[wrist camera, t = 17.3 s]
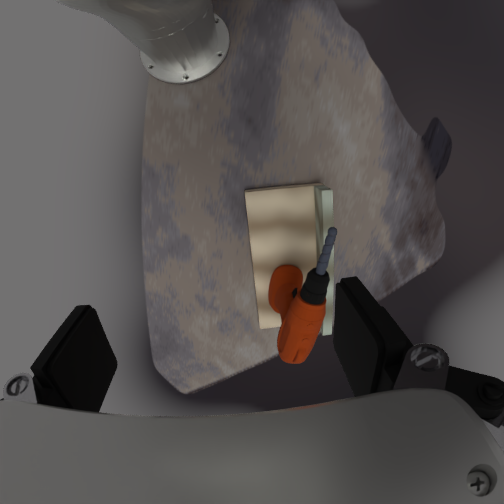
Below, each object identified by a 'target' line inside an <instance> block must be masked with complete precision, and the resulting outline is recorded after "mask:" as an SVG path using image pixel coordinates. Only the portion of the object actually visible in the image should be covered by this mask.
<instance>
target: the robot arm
mask: <svg viewBox="0 0 504 504" xmlns="http://www.w3.org/2000/svg"><path fill="white" fill-rule="evenodd" d="M55 1H57V2H59V3H61V4H63V5H65V6H68V7H70V8H73V9H76V10H80V11H84V12H87V13H91V14H94V15H97V16H100V17H101V18H103V19H104V20H106V21H107V22H108V23H110V24H111V25H112V26H114V27H115V28H116V29H117V30H119V31H120V32H121V33H122V34H123V35H124V36H125V37H126V38H128V39H129V40H130V41H131V42H132V43H133V44H135V45H136V46H137V47H138V48H139V49H140V58H141V61H142V64H143V66H144V67H145V69H146V70H147V71H148V72H149V73H150V74H151V75H152V76H154V77H155V78H157V79H158V80H161V81H163V82H166V83H171V84H186V83H192V82H195V81H198V80H201V79H203V78H205V77H207V76H208V75H210V74H211V73H212V72H214V71H215V70H216V69H217V68H218V67H219V66H220V65H221V63H222V62H223V61H224V59H225V57H226V55H227V53H228V49H229V41H230V38H229V32H228V29H227V26H226V24H225V23H224V21H223V20H222V19H221V18H220V17H219V16H218V15H217V14H215V13H214V11H213V5H212V0H55ZM215 22H218V23H215ZM219 54H221V55H222V56H220V57H219V56H218V55H219ZM152 66H154V67H153V68H152V69H151V67H152ZM186 77H189V79H187V80H186V79H185V78H186ZM333 343H334V348H335V351H336V353H337V356H338V358H339V360H340V363H341V365H342V367H343V370H344V372H345V374H346V377H347V379H348V381H349V384H350V386H351V389H352V390H353V393H354V396H355V397H353V398H348V399H342V400H337V401H332V402H327V403H321V404H316V405H310V406H303V407H296V408H290V409H282V410H275V411H266V412H257V413H248V414H247V413H246V414H234V415H218V416H217V415H216V416H138V415H122V414H110V413H99V411H100V408H101V406H102V403H103V400H104V398H105V395H106V393H107V390H108V388H109V386H110V383H111V381H112V378H113V376H114V374H115V371H116V369H117V360H116V357H115V355H114V353H113V351H112V348H111V346H110V344H109V342H108V339H107V337H106V334H105V332H104V330H103V327H102V325H101V322H100V320H99V317H98V315H97V312H96V310H95V309H94V308H92V307H91V306H90V305H80V306H76V307H75V309H74V310H73V311H72V312H71V313H70V315H69V316H68V317H67V319H66V320H65V321H64V322H63V324H62V325H61V326H60V327H59V329H58V330H57V331H56V333H55V334H54V335H53V337H52V338H51V339H50V341H49V342H48V343H47V345H46V346H45V348H44V349H43V350H42V352H41V353H40V355H39V356H38V357H37V359H36V360H35V362H34V363H33V365H32V366H31V370H32V372H33V373H34V377H33V378H32V377H31V375H29V374H27V373H20V374H17V375H15V376H13V377H12V378H10V379H9V380H8V381H7V383H6V384H5V386H4V390H3V395H4V398H3V399H1V400H0V504H504V382H503V381H501V380H500V379H498V378H495V377H491V376H487V375H483V374H479V373H475V372H471V371H467V370H464V369H460V368H456V367H452V366H449V357H448V354H447V353H446V352H445V351H444V350H443V349H442V348H440V347H439V346H436V345H433V344H427V343H423V344H417V345H415V346H413V345H412V343H411V342H410V340H409V339H408V338H407V336H406V335H405V334H404V332H403V331H402V330H401V329H400V327H399V326H398V325H397V323H396V322H395V321H394V320H393V318H392V317H391V316H390V314H389V313H388V312H387V311H386V309H385V308H384V307H382V306H380V305H379V304H378V302H377V301H376V300H375V299H374V297H373V296H372V295H371V294H370V292H369V291H368V290H367V289H366V287H365V286H364V285H363V284H362V282H361V281H360V280H359V279H358V277H356V276H355V277H348V278H342V279H341V281H340V283H337V284H336V297H335V320H334V338H333Z"/></svg>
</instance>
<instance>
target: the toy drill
mask: <svg viewBox="0 0 504 504" xmlns="http://www.w3.org/2000/svg"><path fill="white" fill-rule="evenodd" d="M327 233H328V235H327V236H326V238H325V242H324V243H325V244H324V245H323V249H322V253H321V255H320V257H319V259H318V260H319V261H318V262H317V265H316V268H312V269H311V270H310V271H309V272H308V273H307V277H306V280H305V282H304V283H303V274H302V271H301V270H300V269H299V268H298V267H296V266H293V265H281V266H279V267H277V268H276V269H275V270H274V272H273V274H272V276H271V279H270V284H269V291H268V301H269V304H270V306H271V308H272V309H273V310H274V311H275V312H277V313H279V314H280V316H281V322H282V324H281V327H280V330H279V334H278V339H277V347H278V351H279V355H280V357H281V359H282V360H283V361H285V362H287V363H293V364H294V363H301V362H303V361H304V360H305V359H306V358H307V356H308V355H309V353H310V351H311V350H312V348H313V345H314V343H315V340H316V338H317V336H318V333H319V331H320V328H321V326H322V323H323V320H324V317H325V314H326V301H327V300H326V295H327V287H328V285H329V282H330V277H329V273H328V272H327V271H326V269H327V267H328V263H329V259H330V255H331V251H332V249H333V245H334V241H335V238H336V235H337V229H336V228H335V227H330V228H329V229H328V232H327ZM302 284H303V285H302Z"/></svg>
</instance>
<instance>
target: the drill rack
mask: <svg viewBox="0 0 504 504" xmlns="http://www.w3.org/2000/svg"><path fill="white" fill-rule="evenodd" d="M244 191H245V200H246V209H247V218H248V227H249V236H250V245H251V253H252V262H253V271H254V280H255V289H256V298H257V306H258V315H259V324H260V329H265V328H273V327H281V324H282V322H281V316H280V314H279V313H277V312H275V311H274V310H273V309H272V308H271V306H270V304H269V301H268V291H269V284H270V279H271V276H272V274H273V272H274V270H275V269H276V268H277V267H279V266H281V265H293V266H296V267H298V268H299V269H300V270H301V271H302V274H303V283H304V282H305V280H306V277H307V273H308V272H309V271H310V270H311V269H312V268H316V265H317V262H318V261H319V260H318V259H319V257H320V255H321V253H322V249H323V245H324V244H325V243H324V242H325V238H326V236H327V235H328V233H327V232H328V229H329V228H330V227H334V223H333V191H332V189H330V188H328V187H326V186H325V185H324V184H322V183H313V184H301V185H290V186H279V187H269V188H259V189H250V190H244ZM326 271H327V272H328V273H329V277H330V282H329V285H328V287H327V295H326V300H327V301H326V314H325V317H324V320H323V323H322V326H321V328H320V330H321V332H322V335H329V334H332V315H333V283H334V245H333V249H332V251H331V255H330V259H329V263H328V267H327V269H326ZM302 285H303V284H302Z"/></svg>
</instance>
